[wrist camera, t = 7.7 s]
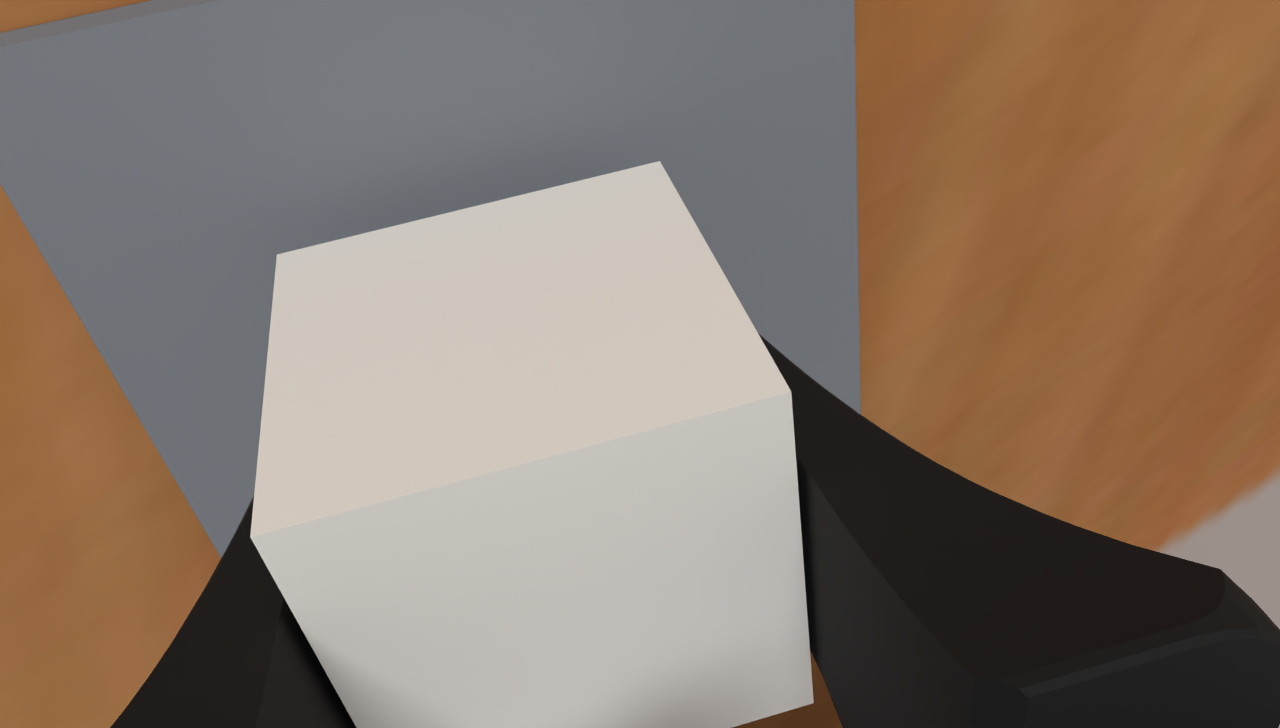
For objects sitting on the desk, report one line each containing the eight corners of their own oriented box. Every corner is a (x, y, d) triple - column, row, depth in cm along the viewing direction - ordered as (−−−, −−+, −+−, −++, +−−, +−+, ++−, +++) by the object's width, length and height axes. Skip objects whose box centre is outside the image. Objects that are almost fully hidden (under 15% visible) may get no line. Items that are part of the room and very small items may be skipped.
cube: (701, 441, 17) (813, 702, 13) (392, 525, 16) (410, 824, 12) (659, 160, 13) (790, 391, 10) (276, 254, 13) (250, 537, 9)
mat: (849, 470, 20) (861, 492, 19) (278, 626, 19) (277, 653, 18) (833, -147, 13) (852, -138, 13) (-55, 44, 12) (-72, 63, 12)
